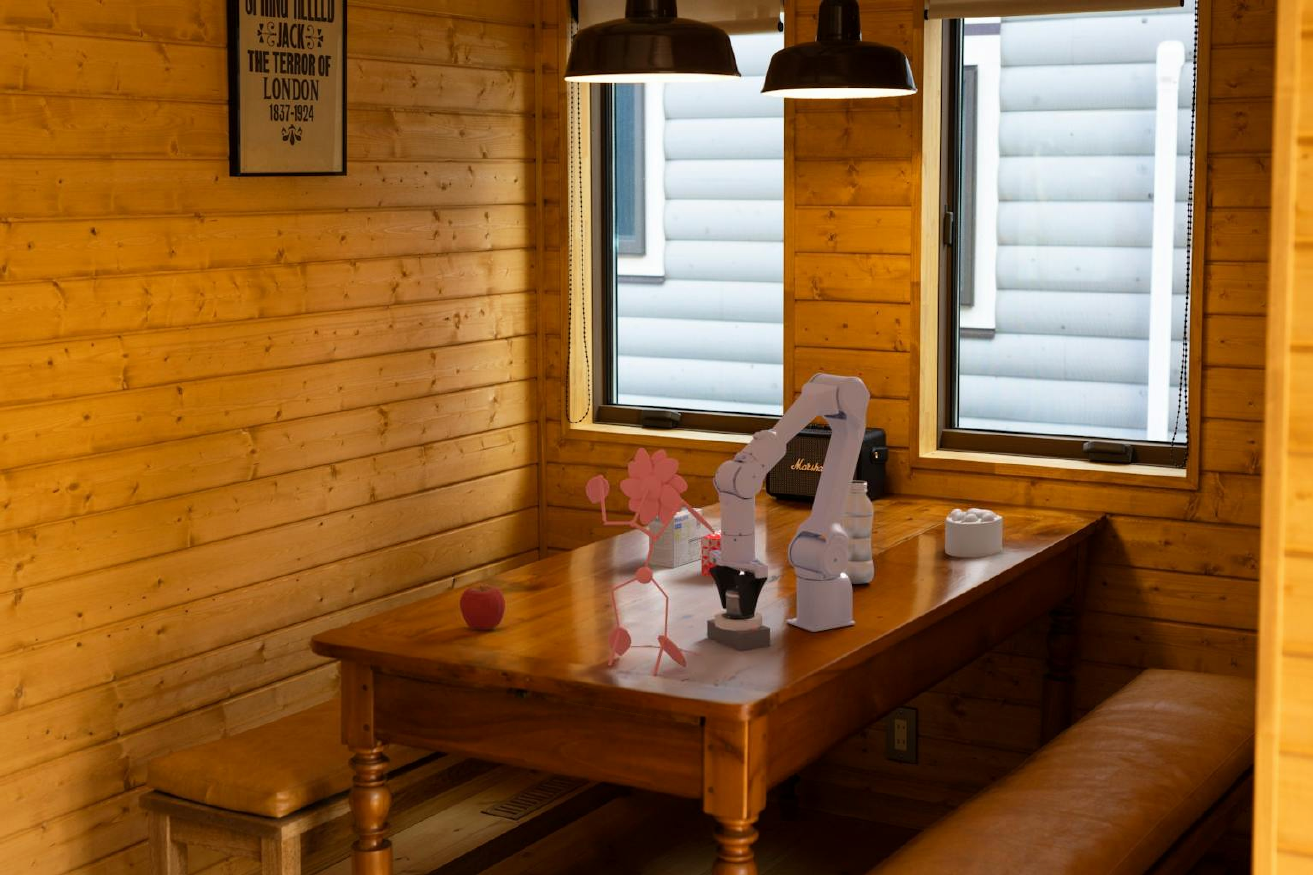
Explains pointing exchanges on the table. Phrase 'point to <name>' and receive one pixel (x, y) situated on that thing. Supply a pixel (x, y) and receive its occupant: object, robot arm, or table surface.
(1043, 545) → the table surface
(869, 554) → the plastic bottle
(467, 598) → the apple
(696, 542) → the light bulb box
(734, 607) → the lens
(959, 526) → the lumpy-topped squat cylinder
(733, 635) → the camera body
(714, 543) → the red patterned gift box
